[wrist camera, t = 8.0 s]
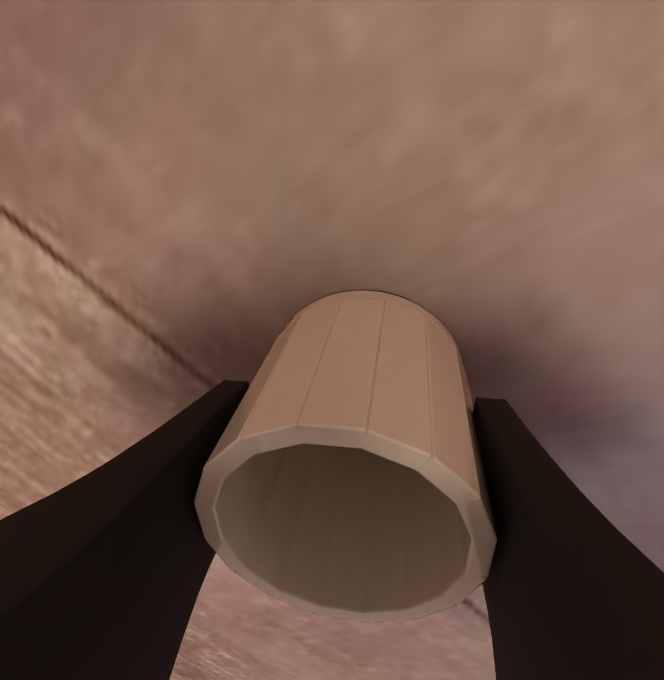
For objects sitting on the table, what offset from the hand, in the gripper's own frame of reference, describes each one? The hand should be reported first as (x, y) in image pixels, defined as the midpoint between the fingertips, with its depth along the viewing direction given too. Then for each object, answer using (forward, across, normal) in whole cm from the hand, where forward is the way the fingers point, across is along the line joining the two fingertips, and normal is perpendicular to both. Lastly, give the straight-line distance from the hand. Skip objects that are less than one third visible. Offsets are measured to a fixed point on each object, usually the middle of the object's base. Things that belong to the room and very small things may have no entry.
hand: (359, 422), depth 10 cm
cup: (+2, 0, 0) cm, 2 cm away
